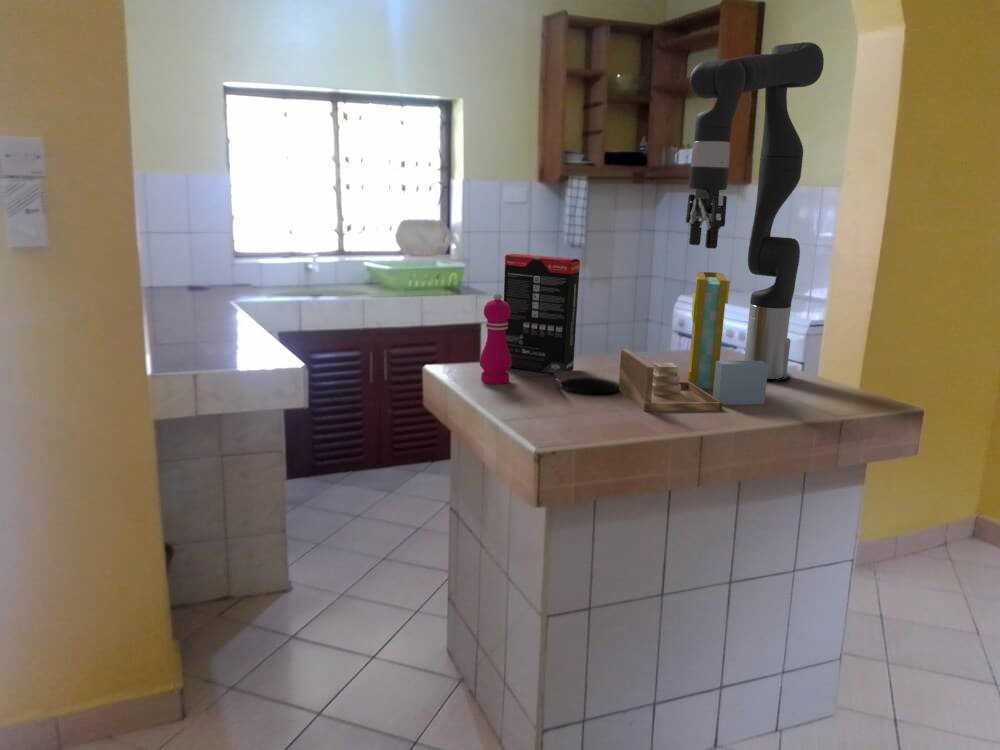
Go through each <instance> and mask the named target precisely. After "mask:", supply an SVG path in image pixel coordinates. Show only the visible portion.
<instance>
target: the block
mask: <svg viewBox="0 0 1000 750" xmlns="http://www.w3.org/2000/svg"><path fill="white" fill-rule="evenodd" d="M768 366H769V364H768V363H765V362H763V361H744V360H720V361H716V366H715V376H714V386H713V390H712V396H713V397H714V398H716V399H717V400H719V401H721V402H722V403H723V404H722V406H723V405H727V406H729V405H765V401H766V400H765V398H766V392H767V383H768V380H767V374H768Z"/></svg>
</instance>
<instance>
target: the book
mask: <svg viewBox="0 0 1000 750" xmlns="http://www.w3.org/2000/svg"><path fill="white" fill-rule="evenodd" d="M730 283H731V282H730V279H729V278H727V277H726V276H725V274H724V273H723V272H717V271H716V272H715V271H697V272H696V279H695V292H694V293H693V294H692V304H691V306H692V307H691V318H692V319H691V320H692V325H691V326H692V327H691V335H690V337H691V339H690V346H689V347H690V348H689V349H690V350H689V358H688V361H689V362H688V370H687V371H688V372H687V374H688V375H687V382H691V383H693V384H694V385H696V386H697V387H699V388H700V389H704V390H705V389H708V390H712V391H713V386H714V376H715V366H716V361H721V352H722V351H721V350H722V340H723V329H724V321H725V320H724V319H725V311H726V310H725V309H726V304H728V302H729V295H730V293H729V292H730Z"/></svg>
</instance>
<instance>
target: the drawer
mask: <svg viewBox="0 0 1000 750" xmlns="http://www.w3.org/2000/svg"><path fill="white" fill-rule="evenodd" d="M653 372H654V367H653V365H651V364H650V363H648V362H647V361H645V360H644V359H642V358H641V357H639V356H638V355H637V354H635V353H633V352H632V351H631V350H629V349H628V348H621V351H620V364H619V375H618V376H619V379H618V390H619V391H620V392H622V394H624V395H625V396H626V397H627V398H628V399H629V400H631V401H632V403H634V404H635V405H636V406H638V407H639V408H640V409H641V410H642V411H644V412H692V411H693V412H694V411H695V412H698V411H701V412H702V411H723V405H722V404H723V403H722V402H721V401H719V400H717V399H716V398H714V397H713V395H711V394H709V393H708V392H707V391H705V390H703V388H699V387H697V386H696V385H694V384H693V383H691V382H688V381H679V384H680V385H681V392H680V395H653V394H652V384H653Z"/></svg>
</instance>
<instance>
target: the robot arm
mask: <svg viewBox="0 0 1000 750" xmlns="http://www.w3.org/2000/svg"><path fill="white" fill-rule="evenodd" d="M824 60H825V59H824V54H823V51H822V48H821V47H820V46H819V45H818V44H816V43H814V42H809V41H808V42H807V41H806V42H798V43H797V42H794V43H785V44H784V43H783V44H777V45H774V46H773V47H772V48H771V49H770V51H769V53H766V54H765V53H764V54H750V55H744V56H738V57H734V58H726V59H725V58H724V59H716V60H706V61H702V62H699V64H697V65H696V66H695V67H694V68H693V69H692V72H691V74H690V77H689V86H690V90H691V91H692V93H693V94H694V95H695V96H696V97H698V98H701V99H705V100H706V99H716V101H715V103H714V105H713V106H712V107H711V108H709V109H706V110H703V111H701V112H699V113H698V114H697V115H696V119H695V126H694V127H695V129H694V139H693V140H694V142H693V147H692V151H691V159H690V170H689V171H690V172H689V181H688V183H689V184H688V187H689V189H691V190H696V191H695V194H694V193H693V194H692V193H690V194H688V198H687V199H688V200H687V206H686V207H687V208H686V216H685V223H687V224H688V227H690V229H689V230H690V231H689V240H688V243H689V245H690V246H700V245H701V238H702V229H703V228H702V226H703V223H704V221H705V225H706V235H705V245H704V246H705V248H706V249H716V248H717V247H718V239H719V230H721V228H722V227H725V225H726V214H727V203H728V202H727V199H728V198H727V195H720V191H725V190H727V188H728V181H729V180H728V179H729V171H730V170H729V169H730V159H731V137H732V126H733V125H732V124H733V119H734V116H735V114H736V112H737V109H738V105H739V103H740V99H741V98H742V94H744V93H750V92H755V91H759V90H763V89H764V119H763V120H764V122H763V131H762V139H761V140H762V141H761V149H760V156H759V167H758V177H757V178H758V182H757V191H756V192H757V194H756V204H755V210H754V211H755V212H754V217H753V218H754V219H753V224H752V228H751V234H750V239H749V246H748V252H747V267H748V270H749V272H750V273H751V274H753V275H756V276H763V277H764V276H765V277H772V278H773V277H774V278H775V279H774V280H775V281H774V283H773V285H771V286H770V287H769V286H768V287H767V288H763V289H759V290H755V291H753V292H752V293H751V296H750V304H749V313H748V323H747V332H746V339H745V340H746V342H745V349H744V359H743V361H763V362H765V363H768V364H769V366H768V374H767V378H771V379H775V378H781V377H784V378H783V379H787V373H788V366H789V357H790V347H791V342H792V341H791V339H790V338H789V337H788V335H789V334H788V333H789V325H790V318H791V310H792V301H793V297H794V293H795V288H796V280H797V276H798V275H797V274H798V268H799V265H800V264H799V263H800V256H801V248H800V247H801V246H800V243H799V241H798V240H797V239H796V238H792V237H782V236H781V237H780V236H771V235H772V234H771V233H772V228H773V225H774V221H775V218H776V216H777V214H778V213H779V210H780V209H781V208H782V206H783V205H784V204H785V202H786V201H787V199H789V197H790V196H791V195H792V193H793V191H795V189H796V188H797V186H798V184H799V182H800V179H801V177H802V169H803V159H804V158H803V157H804V146H803V143H802V140H801V138H800V136H799V134H798V132H797V129H796V128H795V126H794V124H793V122H792V120H791V117H790V115H789V110H788V102H787V101H788V97H787V94H788V88H790V89H791V88H792V89H793V88H794V89H795V88H806V87H809V86H812V85H814V84H815V83H816V82H817V81H818V80H819V79H820V77H822V76H821V75H822V73H823V70H824V63H825V61H824Z"/></svg>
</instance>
